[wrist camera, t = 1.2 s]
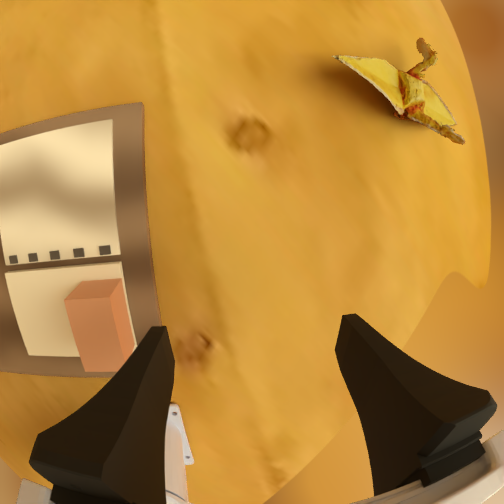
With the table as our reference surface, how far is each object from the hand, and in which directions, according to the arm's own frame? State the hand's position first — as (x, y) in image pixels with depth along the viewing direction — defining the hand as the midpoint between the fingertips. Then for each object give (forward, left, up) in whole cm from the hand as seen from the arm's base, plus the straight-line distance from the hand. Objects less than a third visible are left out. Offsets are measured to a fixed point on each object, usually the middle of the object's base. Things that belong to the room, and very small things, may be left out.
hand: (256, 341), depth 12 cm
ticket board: (+2, +17, -10) cm, 20 cm away
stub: (-2, +12, -9) cm, 15 cm away
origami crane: (+14, -16, -11) cm, 24 cm away
